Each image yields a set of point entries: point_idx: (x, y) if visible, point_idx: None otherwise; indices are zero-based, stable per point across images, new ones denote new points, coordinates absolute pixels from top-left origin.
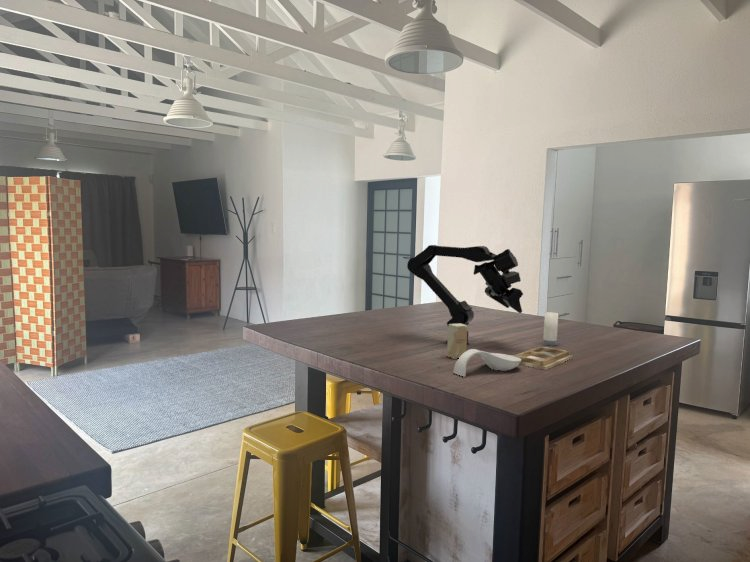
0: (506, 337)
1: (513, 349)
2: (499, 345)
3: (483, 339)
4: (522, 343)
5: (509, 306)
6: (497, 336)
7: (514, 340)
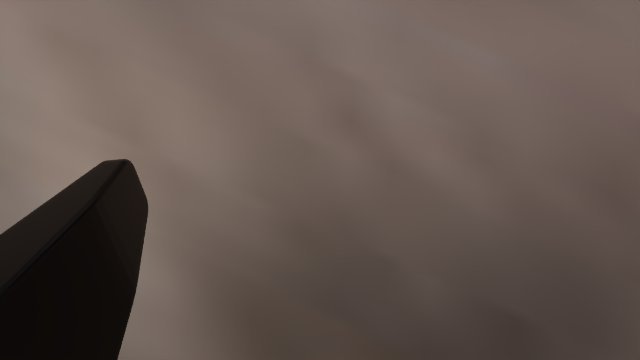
0: (56, 82)
1: (571, 236)
2: (389, 302)
3: (127, 349)
4: (316, 31)
5: (132, 164)
6: (10, 153)
7: (185, 57)
